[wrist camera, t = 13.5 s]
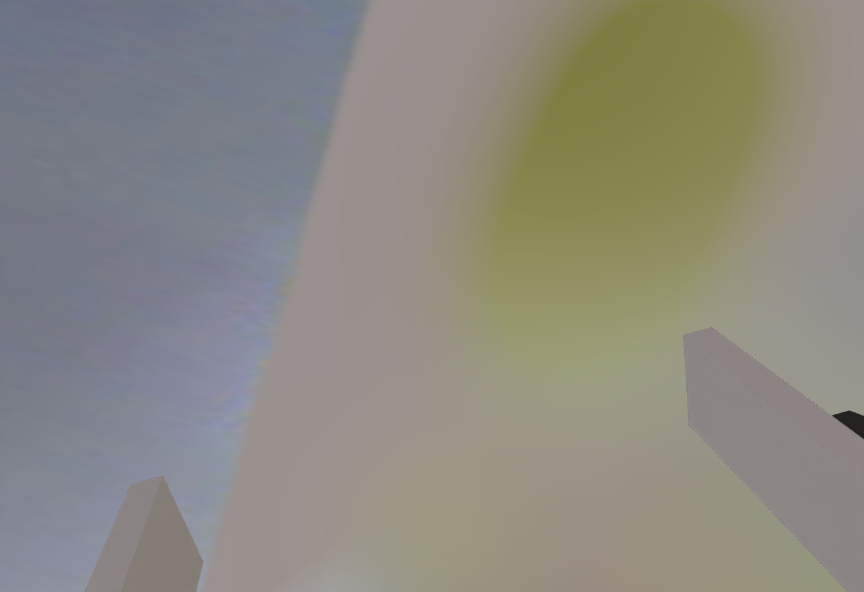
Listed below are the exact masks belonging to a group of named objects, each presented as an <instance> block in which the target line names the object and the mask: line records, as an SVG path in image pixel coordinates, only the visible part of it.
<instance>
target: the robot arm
mask: <svg viewBox="0 0 864 592" xmlns="http://www.w3.org/2000/svg"><path fill="white" fill-rule="evenodd" d="M683 340H684V357H685V373H686V389H687V404H688V420H689V426H690V427H691V428H692V429H693V430H694V431H695V432H696V433H697V434H698V435H699V436H700V437H701V438H702V439H703V440H704V442H705V443H706V444H707V445H708V446H709V447H710V448H711V449H712V450H713V451H714V452H715V453H716V454H717V455H718V456H719V457H720V458H721V459H722V460H723V461H724V463H725V464H726V465H727V466H728V467H729V468H730V469H731V470H732V471H733V472H734V473H735V474H736V475H737V476H738V477H739V478H740V479H741V480H742V482H743V483H744V484H745V485H746V486H747V487H748V488H749V489H750V490H751V491H752V492H753V493H754V494H755V495H756V496H757V497H758V498H759V499H760V500H761V502H762V503H763V504H764V505H765V506H766V507H767V508H768V509H769V510H770V511H771V512H772V513H773V514H774V515H775V516H776V517H777V518H778V519H779V520H780V521H781V523H782V524H783V525H784V526H785V527H786V528H787V529H788V530H789V531H790V532H791V533H792V534H793V535H794V536H795V537H796V538H797V539H798V540H799V541H800V543H801V544H802V545H803V546H804V547H805V548H806V549H807V550H808V551H809V552H810V553H811V554H812V555H813V556H814V557H815V558H816V559H817V560H818V561H819V562H820V564H821V565H822V566H823V567H824V568H825V569H826V570H827V571H828V572H829V573H830V574H831V575H832V576H833V577H834V578H835V579H836V580H837V581H838V583H839V584H840V585H842V587H843V588H844V589H845V590H846V591H847V592H864V416H863V415H860V414H857V413H855V412H852V411H846V412H842V413H839V414H835V415H832V416H831V415H830V414H829V413H827V412H826V411H825V410H823V409H822V408H820V407H819V406H818V405H817V404H815V403H814V402H812V401H811V400H810V399H808V398H807V397H806V396H804V395H803V394H801V393H800V392H799V391H798V390H796V389H795V388H794V387H792V386H791V385H789V384H788V383H787V382H785V381H784V380H783V379H781V378H780V377H779V376H777V375H776V374H775V373H773V372H772V371H770V370H769V369H767V368H766V367H765V366H764V365H762V364H761V363H760V362H758V361H757V360H756V359H754V358H753V357H751V356H750V355H749V354H747V353H746V352H745V351H743V350H742V349H740V348H739V347H738V346H737V345H735V344H734V343H732V342H731V341H730V340H728V339H727V338H726V337H724V336H723V335H722V334H720V333H719V332H718V331H716V330H715V329H714V328H712V327H711V328H707V329H703V330H700V331H696V332H692V333H689V334H685V335H683ZM202 564H203V560H202V558H201V556H200V554H199V552H198V549H197V547H196V545H195V543H194V541H193V539H192V537H191V535H190V532H189V530H188V528H187V526H186V524H185V522H184V520H183V518H182V515H181V513H180V511H179V509H178V507H177V505H176V503H175V500H174V498H173V496H172V494H171V492H170V490H169V488H168V486H167V483H166V481H165V479H164V477H163V476H161V477H157V478H154V479H150V480H146V481H143V482H139V483H135V484H131V485H130V488H129V490H128V492H127V495H126V497H125V499H124V502H123V504H122V506H121V509H120V511H119V513H118V516H117V518H116V520H115V523H114V525H113V527H112V530H111V532H110V534H109V537H108V539H107V541H106V544H105V546H104V548H103V551H102V553H101V555H100V558H99V560H98V562H97V564H96V567H95V569H94V571H93V574H92V576H91V578H90V581H89V583H88V585H87V588H86V590H85V592H196V590H197V586H198V582H199V577H200V573H201V569H202Z"/></svg>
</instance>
